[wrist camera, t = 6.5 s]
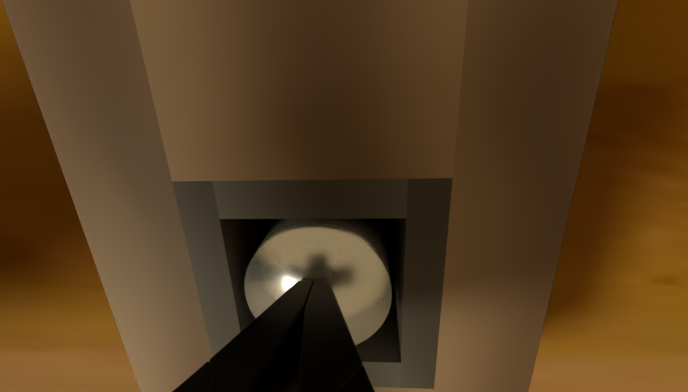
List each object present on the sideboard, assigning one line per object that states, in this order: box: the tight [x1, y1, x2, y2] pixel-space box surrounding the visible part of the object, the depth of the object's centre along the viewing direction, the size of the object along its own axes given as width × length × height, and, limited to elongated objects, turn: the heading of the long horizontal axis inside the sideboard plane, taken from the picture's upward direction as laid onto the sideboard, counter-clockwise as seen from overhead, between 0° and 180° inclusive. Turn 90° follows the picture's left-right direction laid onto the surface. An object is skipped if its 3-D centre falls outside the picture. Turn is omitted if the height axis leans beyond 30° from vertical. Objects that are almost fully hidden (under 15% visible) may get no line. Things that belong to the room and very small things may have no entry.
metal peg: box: [244, 218, 392, 345], centre depth 11 cm, size 4×4×5 cm
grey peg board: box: [2, 0, 618, 392], centre depth 9 cm, size 12×26×5 cm, turn 2°
